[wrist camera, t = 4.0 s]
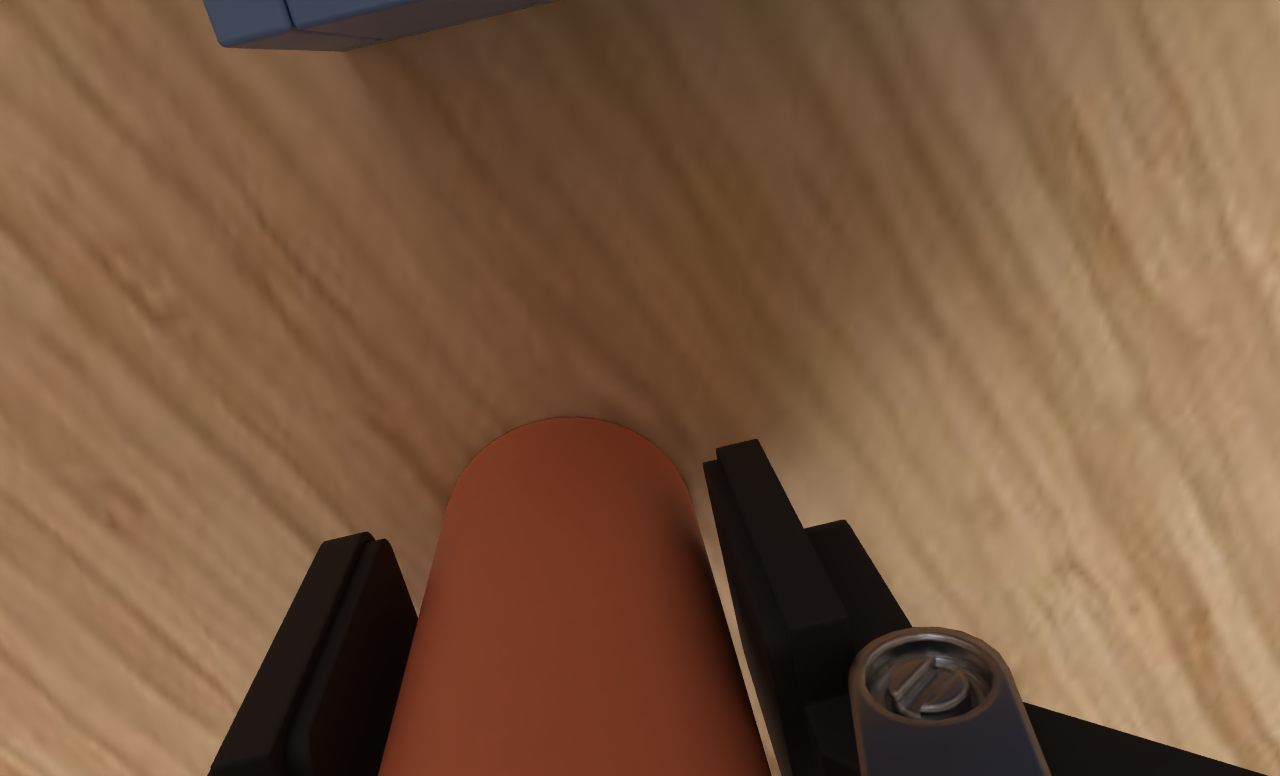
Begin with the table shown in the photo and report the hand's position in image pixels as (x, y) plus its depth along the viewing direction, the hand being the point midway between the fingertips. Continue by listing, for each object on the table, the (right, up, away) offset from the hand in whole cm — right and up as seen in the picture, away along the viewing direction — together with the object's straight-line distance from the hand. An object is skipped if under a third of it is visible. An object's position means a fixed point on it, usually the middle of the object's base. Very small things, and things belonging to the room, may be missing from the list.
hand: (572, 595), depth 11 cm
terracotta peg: (0, +1, +2) cm, 2 cm away
